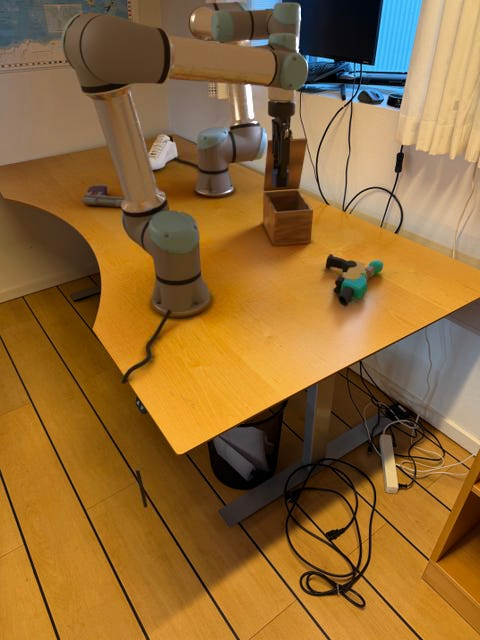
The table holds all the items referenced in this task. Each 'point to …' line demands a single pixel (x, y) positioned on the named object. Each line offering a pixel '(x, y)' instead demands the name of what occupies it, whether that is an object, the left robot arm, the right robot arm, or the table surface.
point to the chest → (287, 217)
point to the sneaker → (162, 151)
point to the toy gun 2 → (352, 277)
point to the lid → (293, 168)
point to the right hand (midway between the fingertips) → (281, 148)
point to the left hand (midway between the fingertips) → (279, 183)
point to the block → (274, 177)
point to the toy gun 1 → (101, 197)
